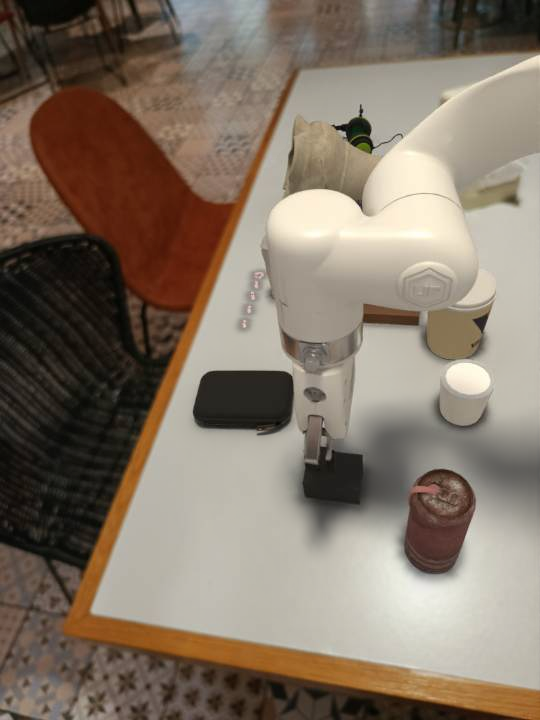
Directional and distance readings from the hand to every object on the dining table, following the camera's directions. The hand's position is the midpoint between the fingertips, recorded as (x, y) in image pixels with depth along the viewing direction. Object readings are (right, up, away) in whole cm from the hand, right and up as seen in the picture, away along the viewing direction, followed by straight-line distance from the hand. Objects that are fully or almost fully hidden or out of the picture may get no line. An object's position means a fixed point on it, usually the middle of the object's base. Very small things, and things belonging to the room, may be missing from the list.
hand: (327, 432), depth 60 cm
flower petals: (-10, +19, +36) cm, 42 cm away
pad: (+2, -8, +9) cm, 12 cm away
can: (+12, -14, +2) cm, 19 cm away
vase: (+10, +40, +51) cm, 65 cm away
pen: (-5, +19, +35) cm, 40 cm away
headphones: (+14, +58, +65) cm, 88 cm away
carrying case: (-10, +1, +19) cm, 22 cm away
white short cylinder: (+20, +1, +14) cm, 25 cm away
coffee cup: (+22, +11, +23) cm, 33 cm away
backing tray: (+10, +18, +31) cm, 37 cm away
